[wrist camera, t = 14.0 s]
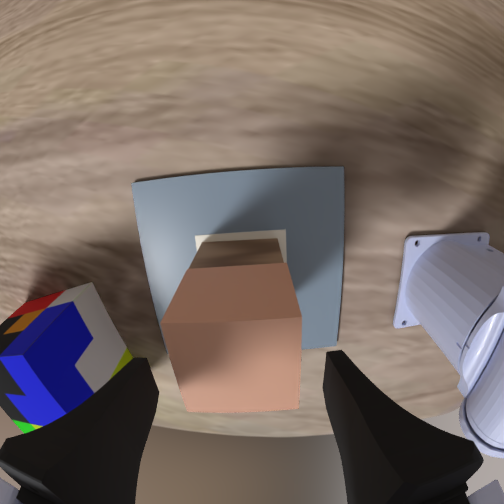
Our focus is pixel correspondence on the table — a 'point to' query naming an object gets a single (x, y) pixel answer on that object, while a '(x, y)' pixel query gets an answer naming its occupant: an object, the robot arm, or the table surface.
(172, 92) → the table surface
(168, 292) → the plate
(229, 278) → the terracotta block
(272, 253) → the walnut block
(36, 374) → the puzzle toy
